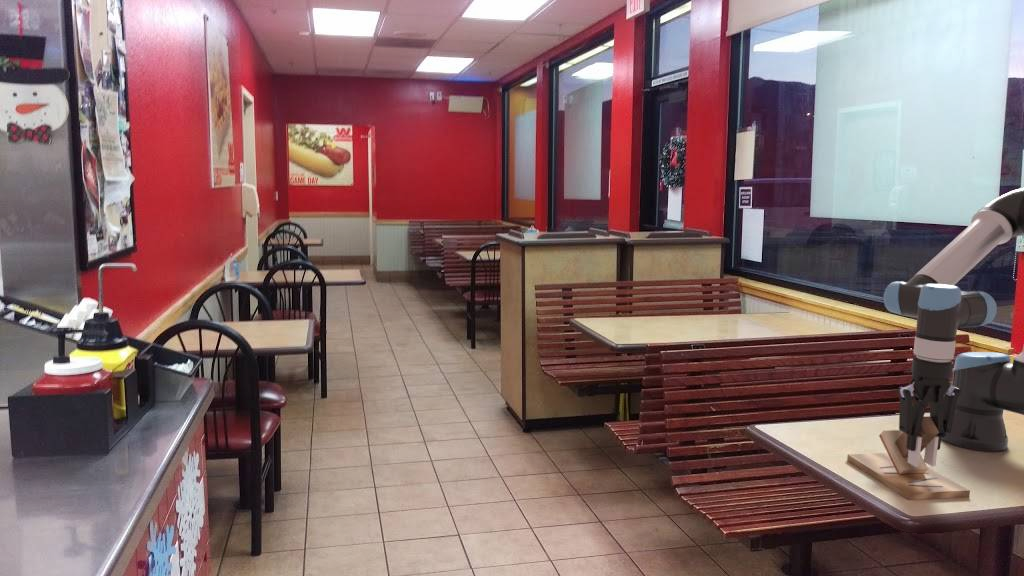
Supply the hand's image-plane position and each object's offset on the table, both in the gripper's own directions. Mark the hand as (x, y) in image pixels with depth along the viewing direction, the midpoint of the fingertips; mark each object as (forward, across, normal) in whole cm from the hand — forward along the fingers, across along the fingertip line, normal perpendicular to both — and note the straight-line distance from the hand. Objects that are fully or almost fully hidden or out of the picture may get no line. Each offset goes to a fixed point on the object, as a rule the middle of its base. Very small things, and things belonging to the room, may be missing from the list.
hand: (921, 464), depth 166 cm
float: (0, 0, -7) cm, 7 cm away
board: (+5, 0, -5) cm, 7 cm away
